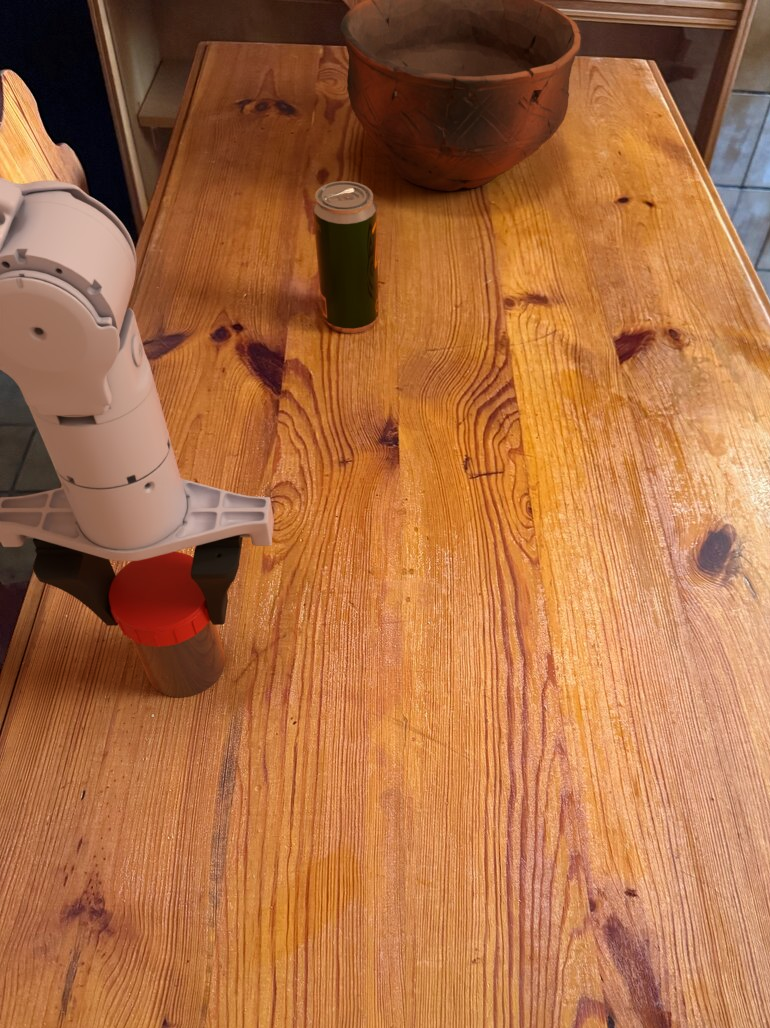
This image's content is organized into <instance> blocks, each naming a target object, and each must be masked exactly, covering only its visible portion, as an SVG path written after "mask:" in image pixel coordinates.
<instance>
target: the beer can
mask: <svg viewBox="0 0 770 1028" xmlns="http://www.w3.org/2000/svg"><path fill="white" fill-rule="evenodd" d="M312 211H313V212H312V213H313V226H314V235H315V237H314V238H315V248H316V260H317V261H316V262H317V272H318V285H319V286H318V287H319V297H320V308H321V314H322V317H323V319H324V321H325V322H326V324H327V325H328V327H329V328H331V329H332V330H334V331H335V332H339V333H342V334H357V333H363V332H365V331H368V330H369V329H370V328H372V327H373V326H374V324H375V322H376V321H377V319H378V317H379V313H380V312H379V311H380V306H379V305H380V303H379V302H380V301H379V263H378V262H379V260H378V259H379V258H378V221H377V204H376V203H375V200H374V193H373V191H372V190H371V189H370V188H369V187H368V186H367V185H364V184H362V183H360V182H355V181H347V180H346V181H345V180H340V181H332V182H329V183H326V184H323V185H322V186H320V187H319V188H318V189H317V190H316V191H315V193H314V203H313V208H312Z"/></svg>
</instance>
